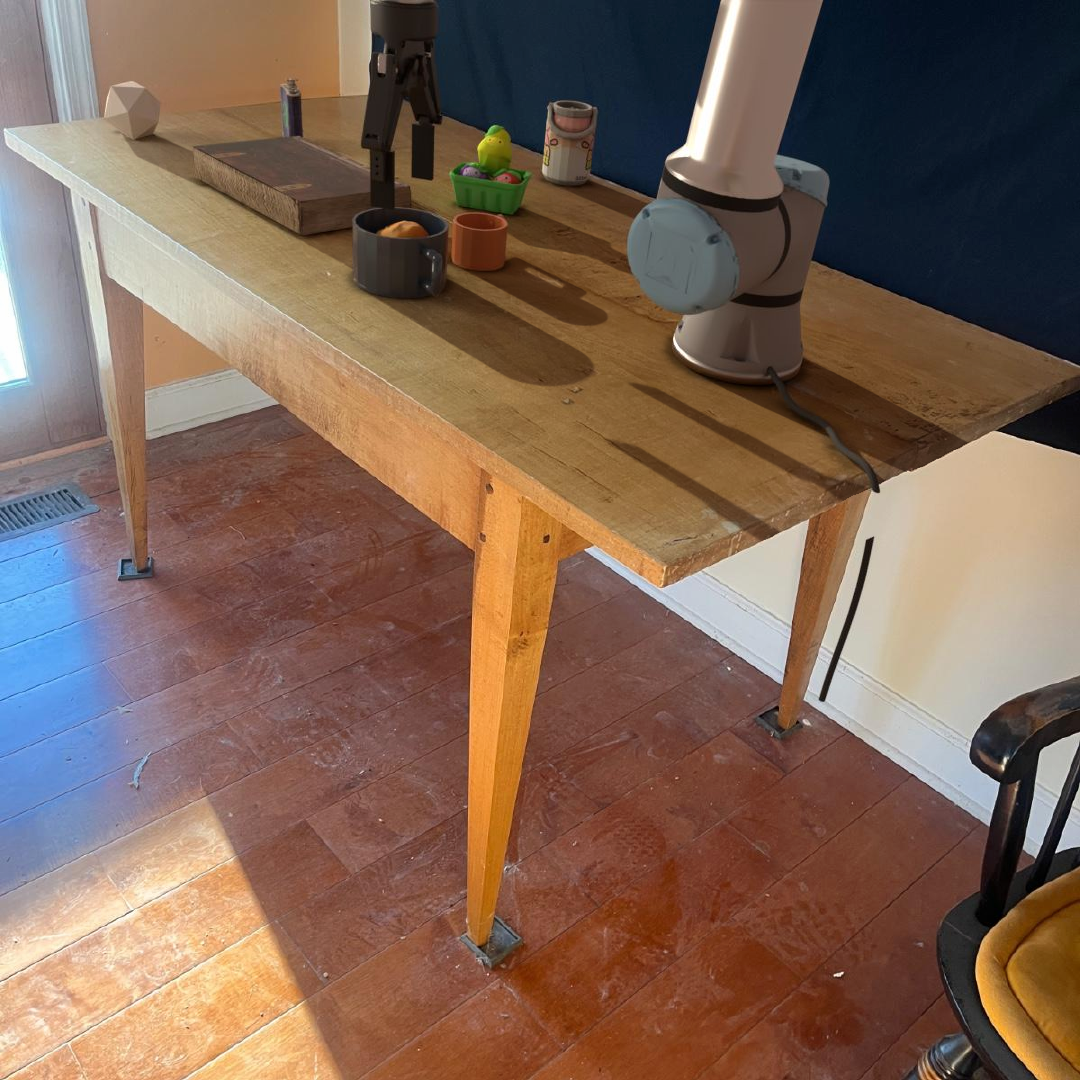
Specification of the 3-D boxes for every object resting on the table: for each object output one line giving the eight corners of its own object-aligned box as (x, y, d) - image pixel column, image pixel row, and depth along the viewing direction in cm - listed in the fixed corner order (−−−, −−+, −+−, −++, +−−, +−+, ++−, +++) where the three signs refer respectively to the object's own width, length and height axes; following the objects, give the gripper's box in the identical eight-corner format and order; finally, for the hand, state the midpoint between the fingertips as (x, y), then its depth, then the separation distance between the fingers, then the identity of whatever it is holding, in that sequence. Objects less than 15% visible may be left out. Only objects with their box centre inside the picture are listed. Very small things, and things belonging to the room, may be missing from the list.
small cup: (489, 275, 137) (492, 234, 133) (442, 262, 139) (443, 222, 136) (522, 253, 144) (525, 214, 141) (476, 242, 147) (479, 203, 143)
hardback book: (410, 217, 153) (411, 183, 150) (301, 238, 141) (300, 201, 138) (301, 164, 169) (300, 133, 166) (196, 179, 157) (192, 146, 155)
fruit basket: (446, 206, 158) (449, 130, 152) (463, 191, 165) (467, 117, 159) (517, 219, 157) (524, 142, 150) (531, 203, 164) (538, 129, 157)
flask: (280, 137, 181) (278, 71, 175) (297, 137, 182) (295, 72, 176) (289, 152, 174) (287, 84, 168) (307, 152, 175) (305, 85, 169)
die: (172, 144, 173) (171, 86, 174) (131, 124, 165) (130, 63, 166) (135, 154, 177) (133, 97, 177) (92, 135, 169) (91, 75, 169)
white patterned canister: (590, 191, 172) (599, 115, 165) (540, 185, 172) (547, 110, 165) (589, 175, 180) (597, 102, 173) (541, 170, 179) (548, 97, 172)
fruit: (436, 283, 127) (405, 223, 124) (383, 305, 130) (351, 247, 127) (453, 261, 134) (424, 204, 130) (402, 283, 137) (372, 227, 133)
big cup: (336, 270, 133) (335, 212, 129) (417, 258, 139) (418, 203, 135) (394, 315, 123) (395, 254, 119) (478, 300, 129) (482, 241, 125)
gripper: (411, -18, 124) (410, 163, 136) (325, 5, 104) (332, 215, 116) (471, -10, 123) (464, 171, 135) (395, 15, 103) (395, 226, 115)
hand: (403, 192), depth 126 cm, fingers open, 13 cm apart
